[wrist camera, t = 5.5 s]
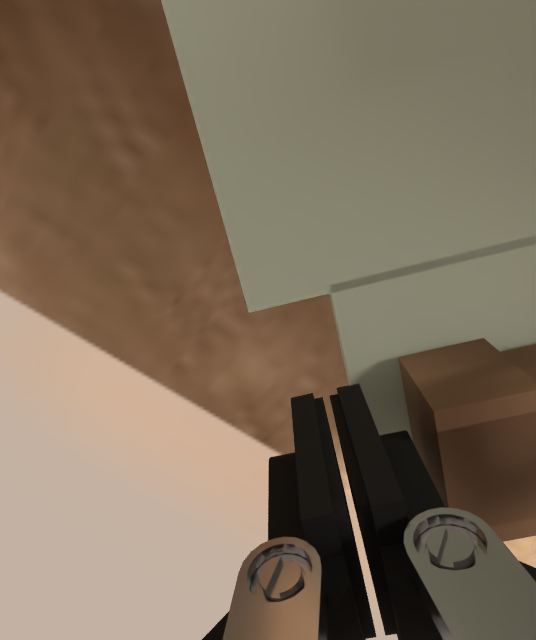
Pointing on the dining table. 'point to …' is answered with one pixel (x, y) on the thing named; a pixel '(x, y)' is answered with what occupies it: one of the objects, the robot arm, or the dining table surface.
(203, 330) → the dining table surface
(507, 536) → the brown wooden bar
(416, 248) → the lid
